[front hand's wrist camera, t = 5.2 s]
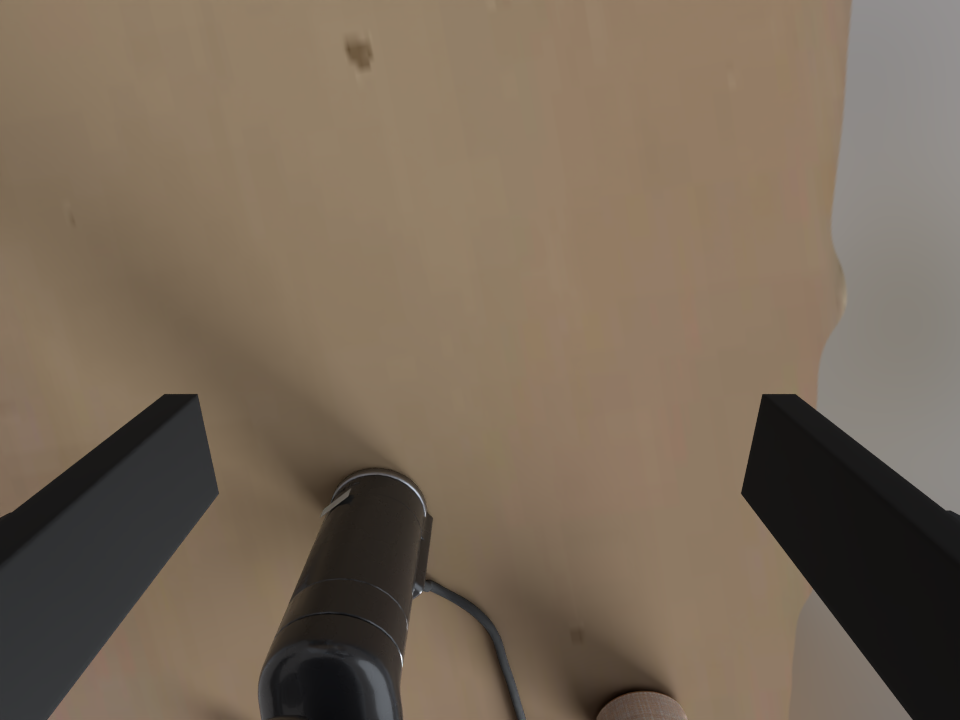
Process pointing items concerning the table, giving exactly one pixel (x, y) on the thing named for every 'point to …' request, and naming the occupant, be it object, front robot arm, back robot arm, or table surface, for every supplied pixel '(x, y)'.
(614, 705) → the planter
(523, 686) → the table surface
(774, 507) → the front robot arm
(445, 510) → the table surface
